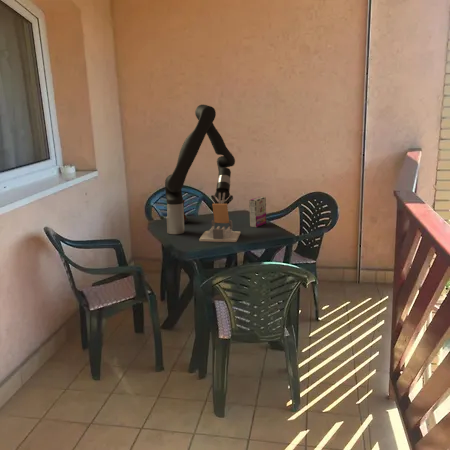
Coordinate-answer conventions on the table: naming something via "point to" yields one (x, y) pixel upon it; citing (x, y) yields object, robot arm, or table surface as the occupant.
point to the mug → (184, 214)
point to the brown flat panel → (220, 213)
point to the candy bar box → (257, 211)
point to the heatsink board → (225, 235)
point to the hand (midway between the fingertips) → (220, 210)
